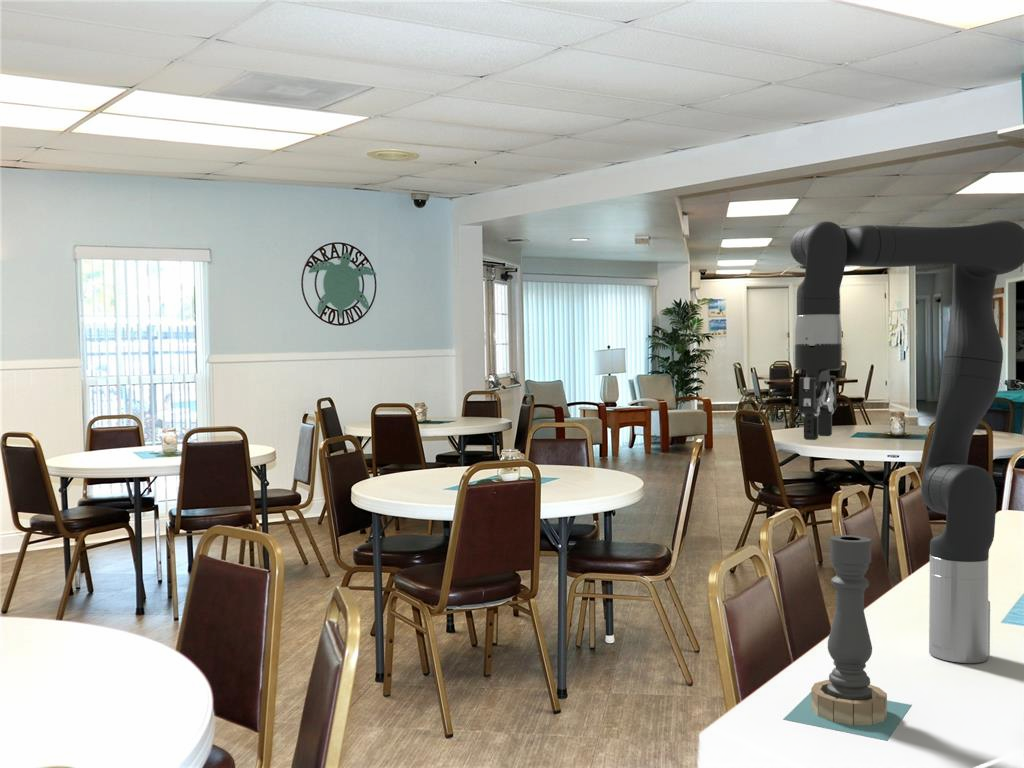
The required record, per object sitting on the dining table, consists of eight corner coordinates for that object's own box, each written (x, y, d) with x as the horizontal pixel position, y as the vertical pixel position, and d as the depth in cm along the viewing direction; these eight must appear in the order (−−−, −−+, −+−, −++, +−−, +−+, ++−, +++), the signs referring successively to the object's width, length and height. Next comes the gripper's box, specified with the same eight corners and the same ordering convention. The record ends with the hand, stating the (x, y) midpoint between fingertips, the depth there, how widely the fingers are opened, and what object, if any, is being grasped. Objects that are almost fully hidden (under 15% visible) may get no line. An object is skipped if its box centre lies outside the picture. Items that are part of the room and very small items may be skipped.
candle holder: (843, 721, 135) (844, 543, 134) (818, 706, 141) (818, 536, 140) (881, 716, 137) (882, 541, 136) (854, 702, 143) (855, 533, 142)
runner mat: (815, 689, 149) (815, 687, 149) (911, 707, 141) (911, 704, 141) (783, 722, 136) (783, 719, 136) (887, 743, 128) (887, 740, 128)
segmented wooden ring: (842, 695, 145) (842, 675, 145) (900, 715, 137) (901, 694, 137) (797, 708, 140) (797, 687, 140) (855, 730, 132) (855, 708, 132)
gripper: (807, 343, 171) (807, 434, 171) (783, 342, 159) (783, 440, 159) (851, 342, 167) (851, 435, 167) (829, 341, 155) (829, 441, 155)
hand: (818, 437), depth 163 cm, fingers open, 8 cm apart
